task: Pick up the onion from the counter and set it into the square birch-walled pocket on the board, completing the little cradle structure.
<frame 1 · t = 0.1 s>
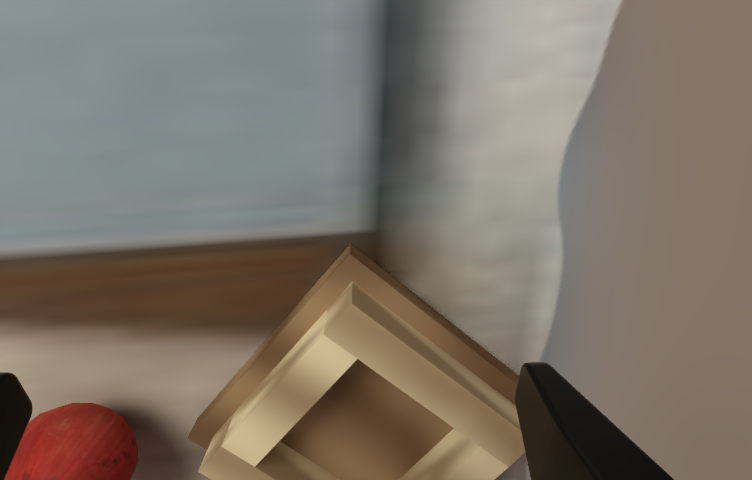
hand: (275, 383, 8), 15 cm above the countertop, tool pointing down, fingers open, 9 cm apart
onion: (111, 413, 27), on the countertop
cradle board: (366, 403, 27), on the countertop
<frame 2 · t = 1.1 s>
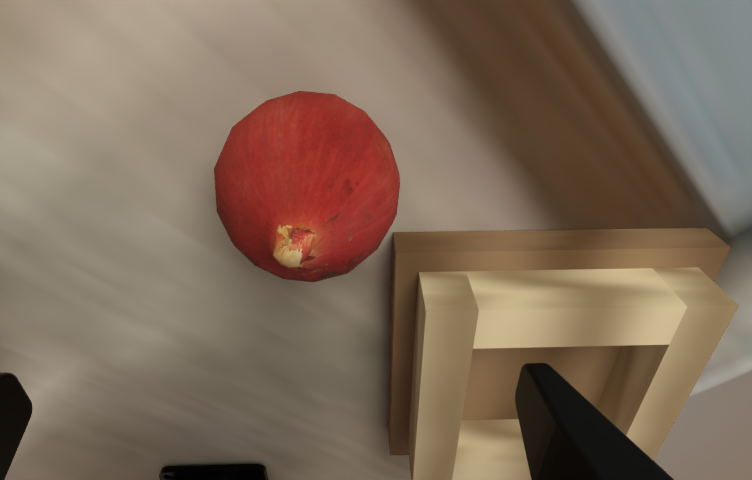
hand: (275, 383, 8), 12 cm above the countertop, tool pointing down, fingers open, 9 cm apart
onion: (319, 144, 18), on the countertop
cradle board: (523, 344, 24), on the countertop
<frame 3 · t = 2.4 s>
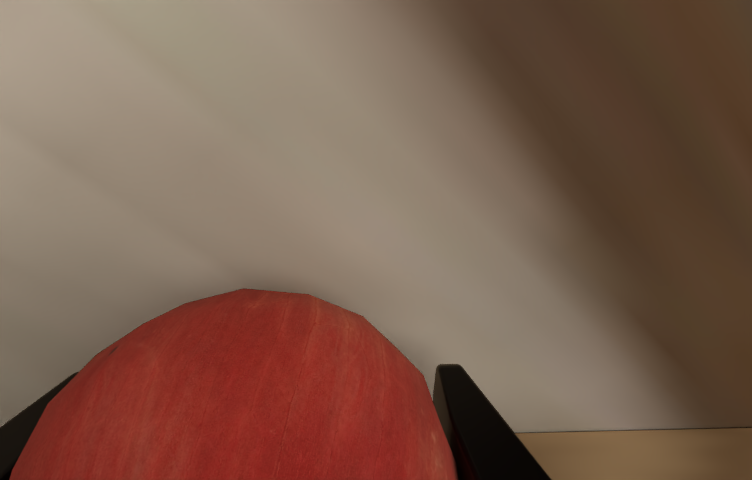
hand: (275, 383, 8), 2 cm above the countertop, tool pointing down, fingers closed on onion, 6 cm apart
onion: (289, 314, 10), on the countertop, touching gripper
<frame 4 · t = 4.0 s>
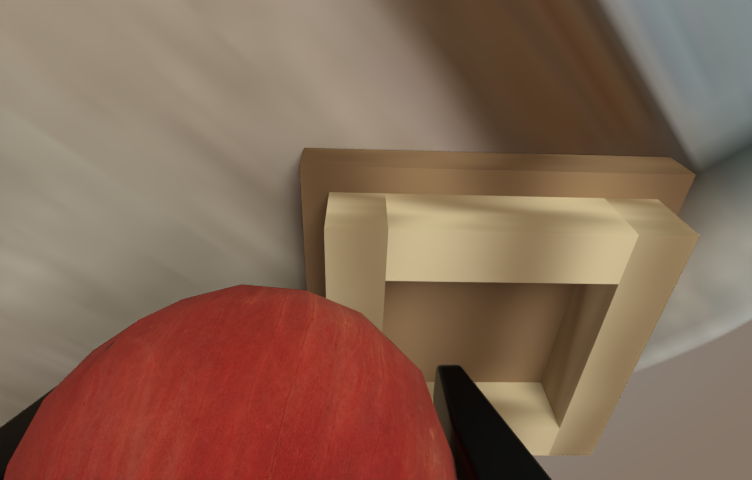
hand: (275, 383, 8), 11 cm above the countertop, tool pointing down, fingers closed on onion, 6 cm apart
onion: (288, 311, 10), point 9 cm above the countertop, touching gripper
cradle board: (464, 295, 21), on the countertop
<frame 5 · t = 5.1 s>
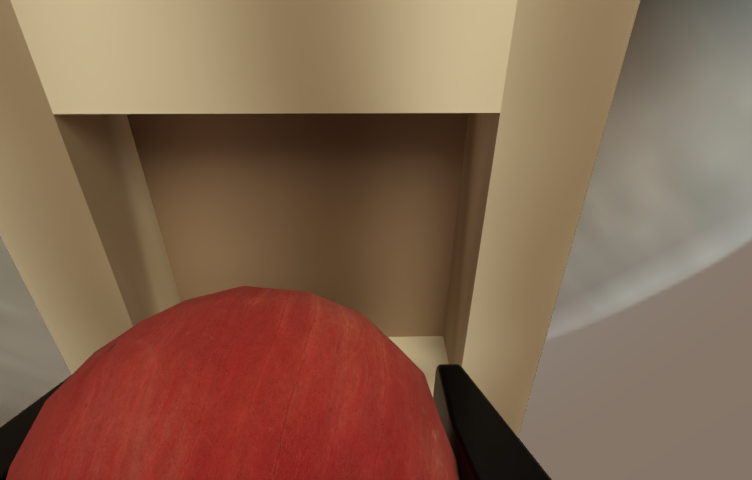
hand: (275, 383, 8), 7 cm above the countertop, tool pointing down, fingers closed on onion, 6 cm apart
onion: (289, 312, 10), point 5 cm above the countertop, touching gripper
cradle board: (314, 203, 14), on the countertop
when the fingers open (5 cm above the countertop, at t = 5.8 s): onion drops 2 cm, resting on cradle board.
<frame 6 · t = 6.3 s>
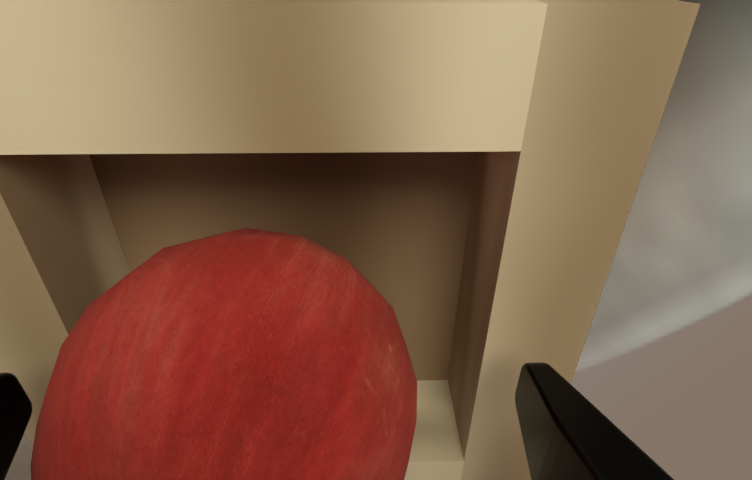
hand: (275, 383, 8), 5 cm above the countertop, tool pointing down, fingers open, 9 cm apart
onion: (294, 267, 11), point 2 cm above the countertop, touching cradle board
cradle board: (304, 235, 12), on the countertop
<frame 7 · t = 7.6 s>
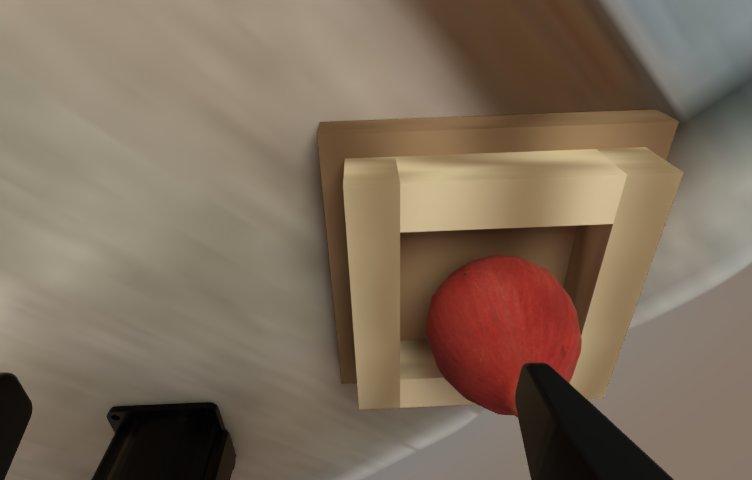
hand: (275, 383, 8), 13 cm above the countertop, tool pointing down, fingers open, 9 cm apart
onion: (478, 272, 22), point 1 cm above the countertop, touching cradle board
cradle board: (474, 255, 23), on the countertop
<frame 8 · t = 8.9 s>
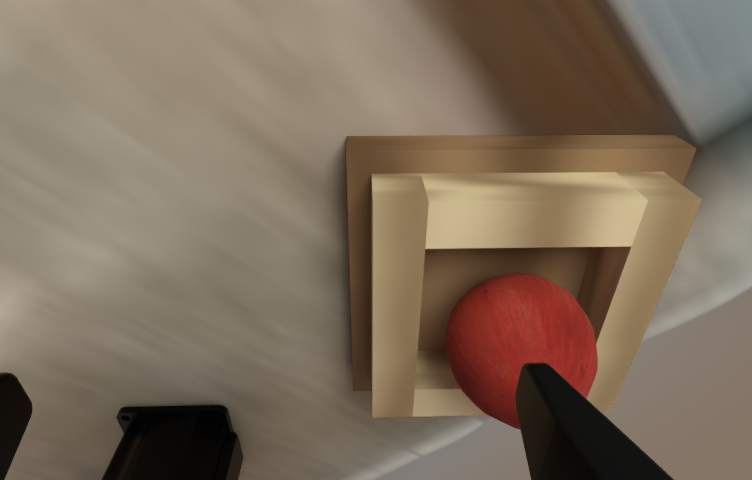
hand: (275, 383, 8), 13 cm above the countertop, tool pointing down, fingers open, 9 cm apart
onion: (494, 286, 22), point 1 cm above the countertop, touching cradle board
cradle board: (489, 269, 23), on the countertop
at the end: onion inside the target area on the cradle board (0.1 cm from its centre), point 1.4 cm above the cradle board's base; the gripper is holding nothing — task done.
